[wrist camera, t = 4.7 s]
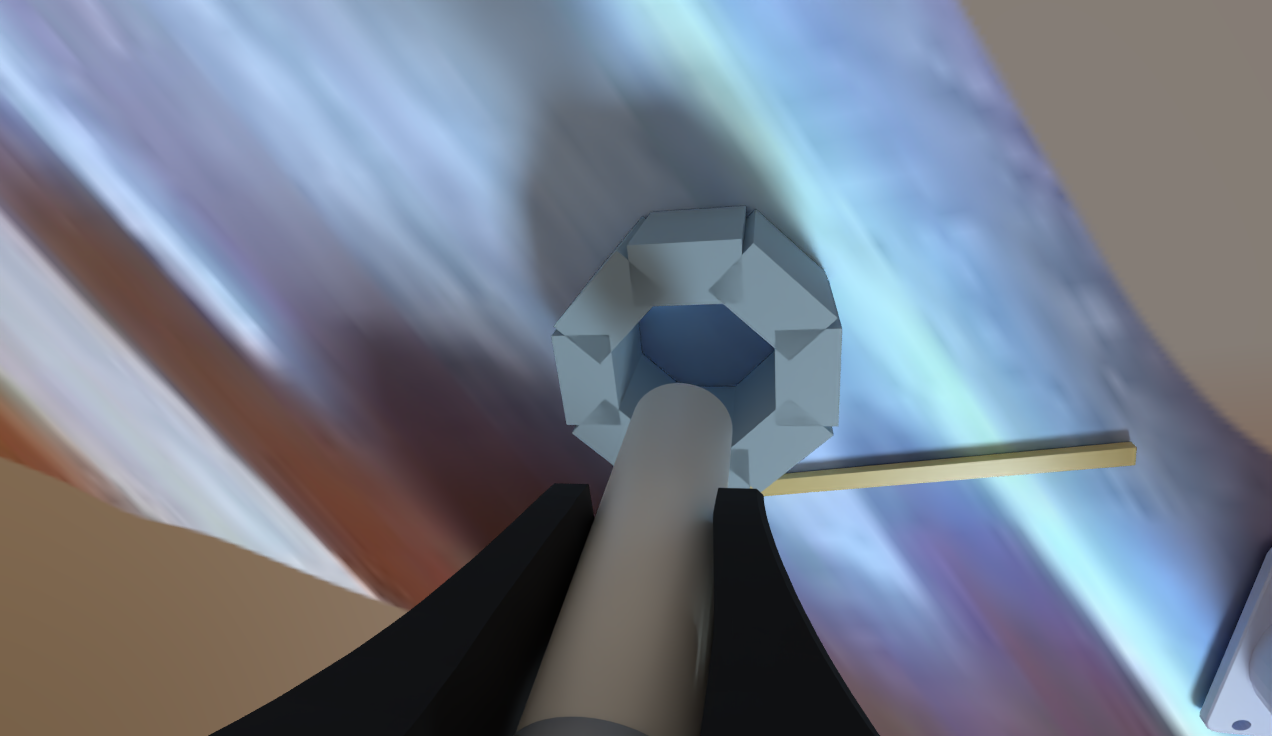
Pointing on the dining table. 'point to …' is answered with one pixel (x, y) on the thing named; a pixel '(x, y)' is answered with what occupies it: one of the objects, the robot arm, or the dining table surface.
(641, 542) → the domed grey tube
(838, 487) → the yellow square stick
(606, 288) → the bead
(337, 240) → the dining table surface
